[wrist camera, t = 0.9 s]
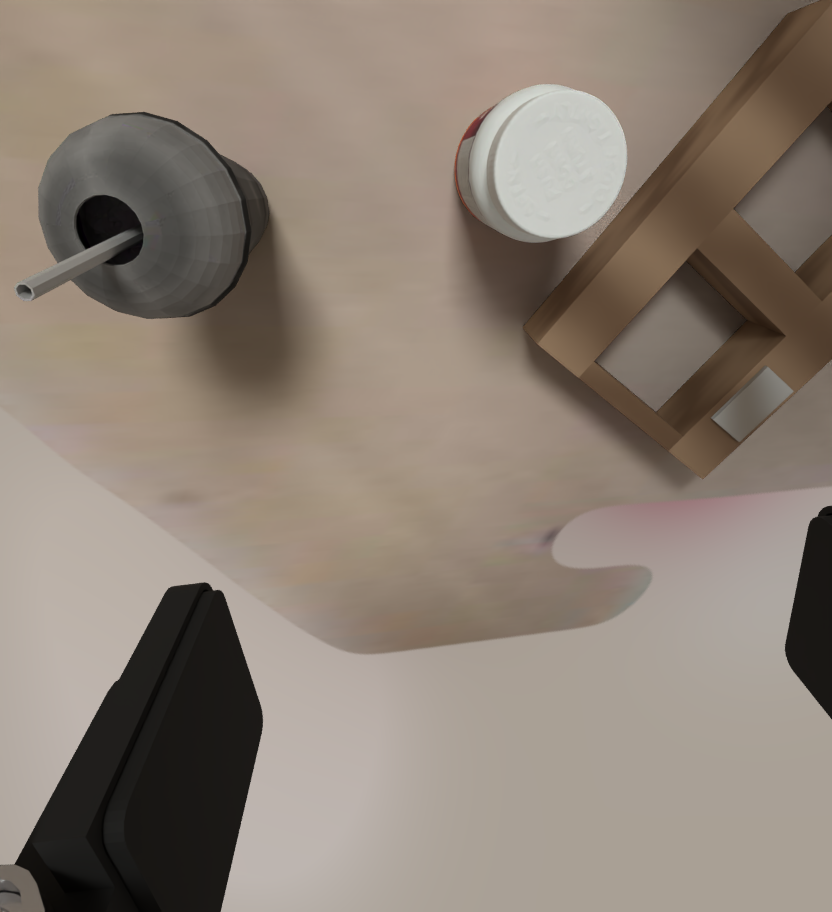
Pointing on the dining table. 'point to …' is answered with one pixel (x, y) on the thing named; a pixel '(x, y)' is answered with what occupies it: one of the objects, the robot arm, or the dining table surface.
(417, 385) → the dining table surface
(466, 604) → the dining table surface
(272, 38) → the dining table surface
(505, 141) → the pill bottle
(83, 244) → the beverage cup
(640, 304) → the socket board
